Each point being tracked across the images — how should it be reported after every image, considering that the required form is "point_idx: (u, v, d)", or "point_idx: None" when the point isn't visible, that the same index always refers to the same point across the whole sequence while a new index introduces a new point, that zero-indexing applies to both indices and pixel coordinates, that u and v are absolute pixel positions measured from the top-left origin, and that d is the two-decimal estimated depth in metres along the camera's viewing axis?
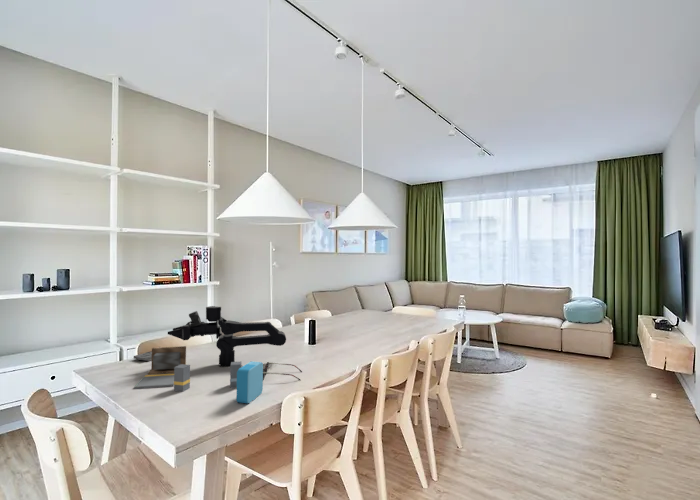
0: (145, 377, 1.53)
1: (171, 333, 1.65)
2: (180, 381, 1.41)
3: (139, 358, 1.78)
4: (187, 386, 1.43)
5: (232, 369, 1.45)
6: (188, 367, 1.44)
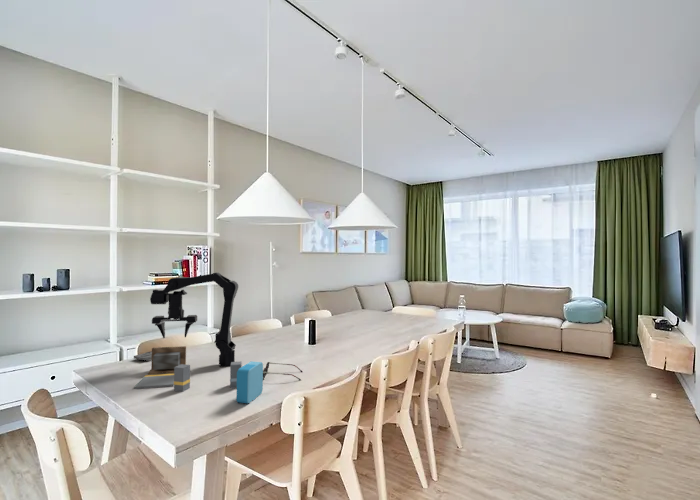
0: (145, 377, 1.53)
1: None
2: (180, 381, 1.41)
3: (139, 358, 1.78)
4: (187, 386, 1.43)
5: (232, 369, 1.45)
6: (188, 367, 1.43)
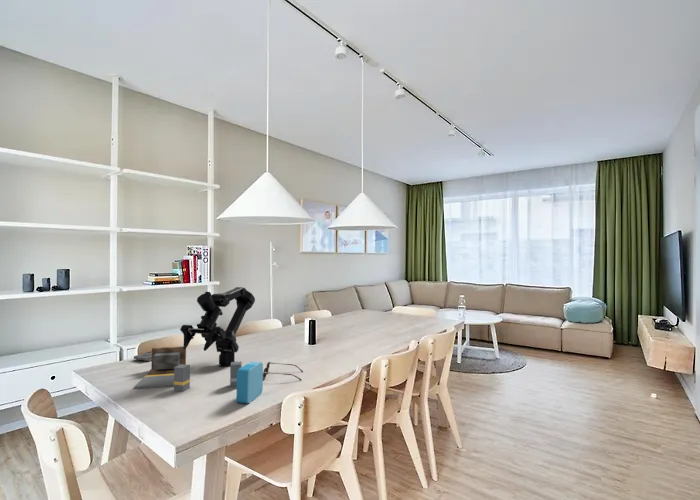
0: (145, 377, 1.53)
1: None
2: (180, 381, 1.41)
3: (139, 358, 1.78)
4: (187, 386, 1.43)
5: (232, 369, 1.45)
6: (188, 367, 1.43)
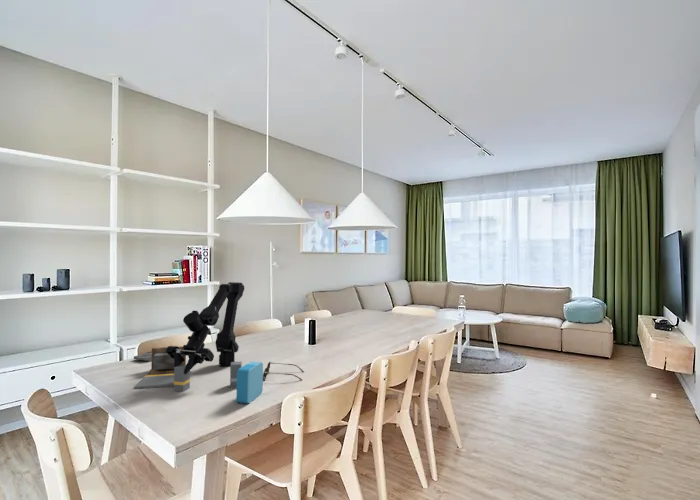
0: (145, 377, 1.53)
1: None
2: (180, 381, 1.41)
3: (140, 358, 1.77)
4: (187, 386, 1.43)
5: (232, 369, 1.45)
6: None
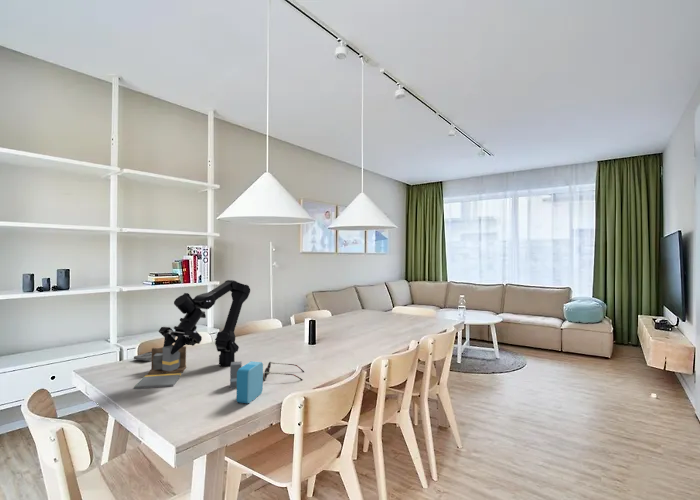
0: (145, 377, 1.53)
1: None
2: (167, 361, 1.44)
3: (140, 358, 1.77)
4: (175, 366, 1.45)
5: (232, 369, 1.45)
6: None
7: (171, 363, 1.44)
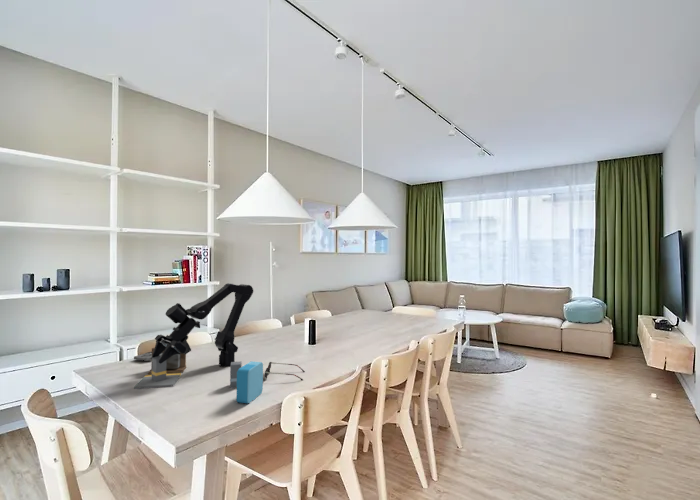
0: (145, 377, 1.53)
1: None
2: (154, 371, 1.49)
3: (140, 359, 1.77)
4: (162, 377, 1.50)
5: (232, 369, 1.45)
6: None
7: (157, 374, 1.49)
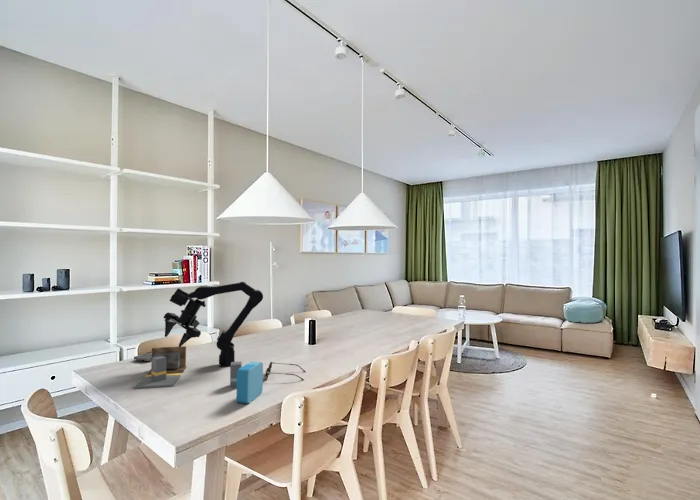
0: (145, 377, 1.53)
1: None
2: (154, 371, 1.49)
3: (140, 359, 1.77)
4: (162, 377, 1.50)
5: (232, 369, 1.45)
6: (163, 359, 1.51)
7: (157, 374, 1.49)
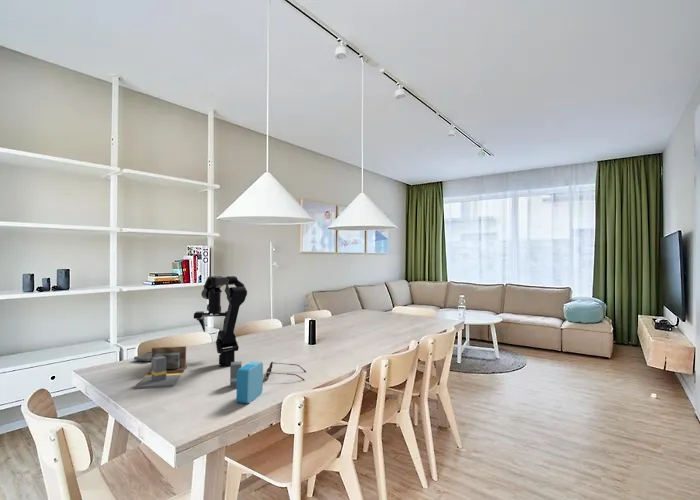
0: (145, 377, 1.53)
1: None
2: (154, 371, 1.49)
3: (141, 359, 1.77)
4: (162, 377, 1.50)
5: (232, 369, 1.45)
6: (163, 359, 1.51)
7: (157, 374, 1.49)
